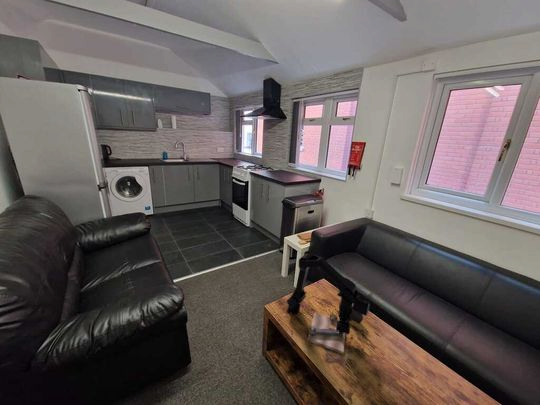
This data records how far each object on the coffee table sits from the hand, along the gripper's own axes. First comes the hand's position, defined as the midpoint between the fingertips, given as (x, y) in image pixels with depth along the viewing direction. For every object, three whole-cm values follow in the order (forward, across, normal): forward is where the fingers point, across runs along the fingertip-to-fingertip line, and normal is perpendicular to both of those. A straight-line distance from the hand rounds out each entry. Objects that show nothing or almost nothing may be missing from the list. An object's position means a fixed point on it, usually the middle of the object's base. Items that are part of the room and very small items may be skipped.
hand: (342, 329), depth 115 cm
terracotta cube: (+4, +1, +5) cm, 6 cm away
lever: (+4, -3, +8) cm, 9 cm away
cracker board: (+5, 0, +7) cm, 9 cm away
